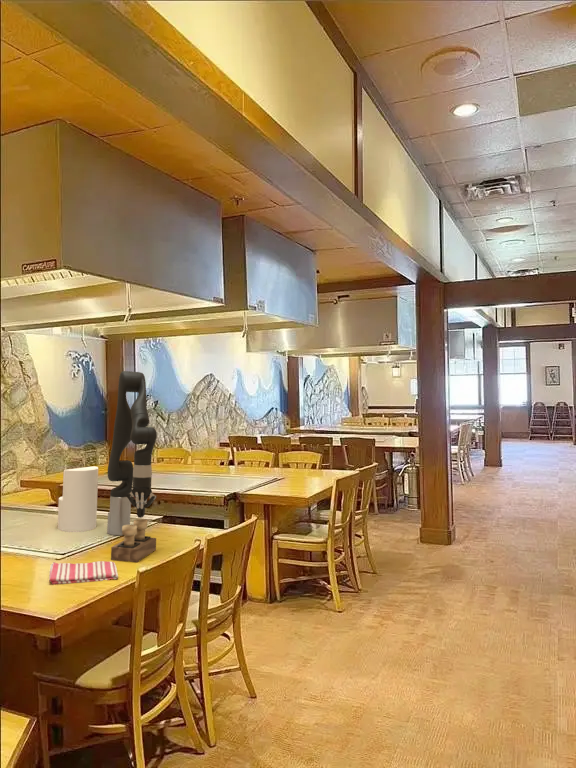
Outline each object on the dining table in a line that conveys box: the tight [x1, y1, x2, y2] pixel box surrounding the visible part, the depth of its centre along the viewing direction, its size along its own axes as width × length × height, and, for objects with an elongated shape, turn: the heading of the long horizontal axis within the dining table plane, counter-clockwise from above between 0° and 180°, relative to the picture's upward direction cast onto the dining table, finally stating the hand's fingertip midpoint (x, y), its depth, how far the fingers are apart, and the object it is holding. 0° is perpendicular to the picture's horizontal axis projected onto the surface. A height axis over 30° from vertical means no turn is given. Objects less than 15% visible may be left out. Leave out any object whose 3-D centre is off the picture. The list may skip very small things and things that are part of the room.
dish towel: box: [48, 560, 119, 585], centre depth 217 cm, size 17×23×4 cm
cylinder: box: [57, 465, 99, 533], centre depth 284 cm, size 17×17×28 cm
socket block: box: [110, 535, 157, 563], centre depth 244 cm, size 11×18×6 cm, turn 169°
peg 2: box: [132, 518, 148, 540], centre depth 248 cm, size 6×6×9 cm
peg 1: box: [121, 524, 137, 546], centre depth 239 cm, size 6×6×9 cm
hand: (140, 517), depth 248 cm, fingers closed
